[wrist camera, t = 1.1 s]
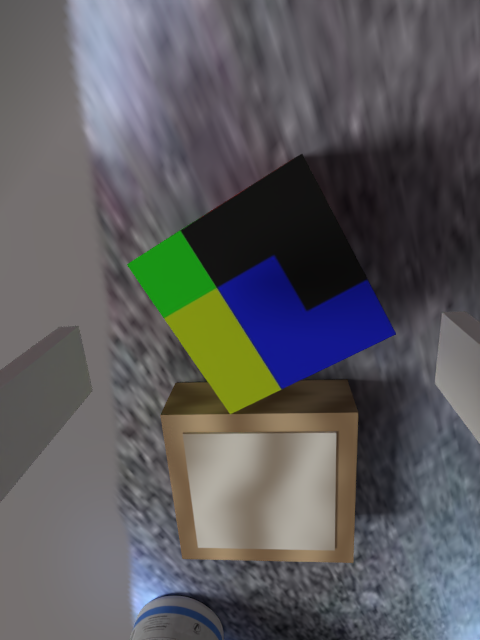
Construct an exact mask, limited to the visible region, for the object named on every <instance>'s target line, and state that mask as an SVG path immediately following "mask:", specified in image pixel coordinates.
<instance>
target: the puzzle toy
mask: <svg viewBox="0 0 480 640" xmlns="http://www.w3.org/2000/svg"><path fill="white" fill-rule="evenodd" d="M127 265H128V267H129V268H130V270H131V271H132V273H133V274H134V276H135V277H136V279H137V280H138V281H139V283H140V284H141V286H142V287H143V289H144V290H145V292H146V293H147V294H148V296H149V297H150V299H151V300H152V302H153V303H154V305H155V306H156V308H157V309H158V310H159V312H160V313H161V315H162V316H163V318H164V319H165V321H166V322H167V323H168V325H169V326H170V328H171V329H172V331H173V332H174V334H175V335H176V337H177V338H178V339H179V341H180V342H181V344H182V345H183V347H184V348H185V350H186V351H187V352H188V354H189V355H190V357H191V358H192V360H193V361H194V363H195V364H196V365H197V367H198V368H199V370H200V371H201V373H202V374H203V376H204V377H205V379H206V380H207V381H208V383H209V384H210V386H211V387H212V389H213V390H214V392H215V393H216V394H217V396H218V397H219V399H220V400H221V402H222V403H223V405H224V406H225V408H226V409H227V410H228V412H229V413H230V414H232V413H234V412H236V411H238V410H240V409H242V408H244V407H246V406H248V405H250V404H253V403H255V402H257V401H259V400H261V399H263V398H265V397H267V396H269V395H271V394H273V393H275V392H277V391H279V390H282V389H284V388H286V387H288V386H290V385H292V384H294V383H296V382H298V381H300V380H302V379H304V378H306V377H308V376H311V375H313V374H315V373H317V372H319V371H321V370H323V369H325V368H327V367H329V366H331V365H333V364H335V363H338V362H340V361H342V360H344V359H346V358H348V357H350V356H352V355H354V354H356V353H358V352H360V351H362V350H364V349H367V348H369V347H371V346H373V345H375V344H377V343H379V342H381V341H383V340H385V339H387V338H389V337H391V336H393V335H396V333H395V331H394V329H393V327H392V325H391V323H390V321H389V319H388V317H387V316H386V314H385V312H384V310H383V308H382V306H381V304H380V302H379V300H378V298H377V296H376V295H375V293H374V291H373V289H372V287H371V285H370V283H369V281H368V279H367V277H366V275H365V273H364V272H363V270H362V268H361V266H360V264H359V262H358V260H357V258H356V256H355V254H354V252H353V250H352V249H351V247H350V245H349V243H348V241H347V239H346V237H345V235H344V233H343V231H342V229H341V227H340V226H339V224H338V222H337V220H336V218H335V216H334V214H333V212H332V210H331V208H330V206H329V204H328V203H327V201H326V199H325V197H324V195H323V193H322V191H321V189H320V187H319V185H318V183H317V181H316V180H315V178H314V176H313V174H312V172H311V170H310V168H309V166H308V164H307V162H306V160H305V158H304V157H303V155H302V154H301V155H299V156H297V157H295V158H294V159H292V160H290V161H289V162H287V163H286V164H284V165H283V166H281V167H279V168H278V169H276V170H275V171H273V172H272V173H270V174H268V175H267V176H265V177H264V178H262V179H260V180H259V181H257V182H256V183H254V184H253V185H251V186H249V187H248V188H246V189H245V190H243V191H241V192H240V193H238V194H237V195H235V196H234V197H232V198H230V199H229V200H227V201H226V202H224V203H223V204H221V205H219V206H218V207H216V208H215V209H213V210H211V211H210V212H208V213H207V214H205V215H204V216H202V217H200V218H199V219H197V220H196V221H194V222H192V223H191V224H189V225H188V226H186V227H185V228H183V229H181V230H180V231H178V232H177V233H175V234H174V235H172V236H170V237H169V238H167V239H166V240H164V241H163V242H161V243H160V244H158V245H156V246H155V247H153V248H152V249H150V250H149V251H147V252H146V253H144V254H143V255H141V256H139V257H138V258H136V259H135V260H133V261H132V262H130V263H129V264H127Z"/></svg>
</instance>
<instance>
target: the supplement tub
mask: <svg viewBox="0 0 480 640" xmlns="http://www.w3.org/2000/svg"><path fill="white" fill-rule="evenodd" d="M130 640H224V632H223V627H222V624H221V622H220V620H219V618H218V617H217V615H216V614H215V613H214V612H213V611H212V610H211V609H210V608H208V607H207V606H206V605H204V604H203V603H201V602H199V601H197V600H195V599H192V598H188V597H183V596H164V597H160V598H157V599H154V600H153V601H151V602H149V603H148V604H146V605H145V606H144V607H143V608H142V610H141V611H140V612H139V614H138V616H137V619H136V622H135V625H134V628H133V631H132V634H131V637H130Z"/></svg>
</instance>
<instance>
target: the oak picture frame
mask: <svg viewBox="0 0 480 640" xmlns="http://www.w3.org/2000/svg"><path fill="white" fill-rule="evenodd" d="M161 422H162V428H163V435H164V441H165V448H166V454H167V461H168V467H169V474H170V480H171V487H172V493H173V500H174V506H175V513H176V519H177V526H178V532H179V539H180V545H181V552H182V558H183V559H212V560H256V561H300V562H343V563H353V553H354V523H355V494H356V464H357V435H358V410H357V407H356V404H355V401H354V398H353V395H352V392H351V389H350V386H349V383H348V380H347V379H342V380H300V381H298V382H296V383H294V384H292V385H290V386H288V387H286V388H284V389H282V390H279V391H277V392H275V393H273V394H271V395H269V396H267V397H265V398H263V399H261V400H259V401H257V402H255V403H253V404H250V405H248V406H246V407H244V408H242V409H240V410H238V411H236V412H234V413H232V414H230V413H229V412H228V410H227V409H226V408H225V406H224V405H223V403H222V402H221V400H220V399H219V397H218V396H217V394H216V393H215V392H214V390H213V389H212V387H211V386H210V384H209V383H208V382H195V383H175V385H174V387H173V389H172V392H171V394H170V396H169V398H168V400H167V402H166V404H165V407H164V409H163V411H162V413H161Z"/></svg>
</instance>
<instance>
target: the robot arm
mask: <svg viewBox="0 0 480 640" xmlns="http://www.w3.org/2000/svg"><path fill="white" fill-rule="evenodd" d="M435 384H436V385H437V387H438V388H439V389H440V391H441V392H442V393H443V395H444V396H445V398H446V399H447V400H448V402H449V403H450V404H451V406H452V407H453V408H454V410H455V411H456V412H457V414H458V415H459V416H460V418H461V419H462V420H463V422H464V423H465V424H466V426H467V427H468V428H469V430H470V431H471V432H472V434H473V435H474V436H475V438H476V439H477V440H478V442H479V443H480V322H479V321H477V320H476V319H475V318H473V317H472V316H471V315H469V314H468V313H467V312H442V318H441V328H440V337H439V347H438V357H437V367H436V377H435ZM91 392H92V386H91V381H90V377H89V372H88V367H87V363H86V358H85V354H84V349H83V344H82V339H81V334H80V330H79V326H70V327H58V328H57V329H56V330H54V331H53V332H52V333H50V334H49V335H48V336H46V337H45V338H44V339H42V340H41V341H39V342H38V343H37V344H35V345H34V346H32V347H31V348H30V349H28V350H27V351H26V352H24V353H23V354H22V355H20V356H19V357H17V358H16V359H15V360H13V361H12V362H11V363H9V364H8V365H6V366H5V367H4V368H2V369H1V370H0V502H1V501H2V500H3V499H4V497H5V496H6V495H7V494H8V493H9V491H10V490H11V489H12V488H13V487H14V485H15V484H16V483H17V482H18V480H19V479H20V478H21V477H22V476H23V474H24V473H25V472H26V471H27V470H28V468H29V467H30V466H31V465H32V463H33V462H34V461H35V460H36V459H37V457H38V456H39V455H40V454H41V452H42V451H43V450H44V449H45V448H46V447H47V445H48V444H49V443H50V442H51V440H52V439H53V438H54V437H55V435H56V434H57V433H58V432H59V430H61V428H62V427H63V426H64V425H65V423H66V422H67V421H68V420H69V419H70V417H71V416H72V415H73V414H74V412H75V411H76V410H77V409H78V408H79V406H80V405H81V404H82V403H83V402H84V400H85V399H86V398H87V397H88V395H89V394H90V393H91Z"/></svg>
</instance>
